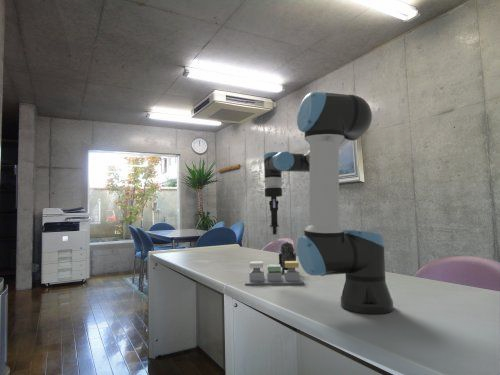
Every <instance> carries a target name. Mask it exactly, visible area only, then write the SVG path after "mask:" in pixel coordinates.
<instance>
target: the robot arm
mask: <svg viewBox="0 0 500 375" xmlns="http://www.w3.org/2000/svg"><path fill="white" fill-rule="evenodd" d="M372 118H373V112H372V109H371V106H370V105H369V103H368V102H367V100H365V99H364V98H362V97H361V96H358V95H355V94H344V93H335V92H325V91H321V92H320V91H318V92H317V91H312V92H309V93H307V94H306V95H305V97H304V98H303V99H302V100H301V104H300V106H299V108H298V112H297V117H296V119H297V120H296V123H297V124H296V125H297V128H298V130H299V131H300V132H301V133H304V140H305V141H306V142H307V143H308V145H309V150H308V151H307V152H306V153H296V152H295V153H291V152H289V151H287V150H284V151H283V150H282V151H279V152H278V151H269V152H266V153H264V154H263V164H264V165H263V166H264V167H263V168H264V170H263V171H264V180H263V183H264V187H265V189H264V196H265V197H266V198H270V200H268V201H269V202H268V204H269V211H270V213H271V214H270V221H271V223H270V225H269V227H270V230H271V233H270V234H271V243H278V242H279V238H278V237H279V236H278V234H279V233H278V232H279V231H278V228H279V227H280V226H279V224H278V210H279V200H277V198H278V197H280V198H281V197H282V196H283V188H282V187H283V182H282V181H283V178H282V176H283V175H282V173H283V172H295V173H296V172H299V173H300V172H301V173H302V172H304V173H309V208H308V209H309V216H308V218H309V222H308V224H307V226H305V227H304V229H303V230H304V231H303V233H304V234H303V235H301V236H299V237H298V239H297V242H296V253H297V254H296V255H297V257H298V262H299V263H300V266H301V268H302V269H303V271H304V272H305V273H306V274H308V275H309V276H320V277H325V276H331V275H332V276H333V275H343V274H345V282H344V284H343V289H342V293H341V295H340V306H341V308H342V309H345V310H346V311H350V312H353V313H359V314H367V315H370V314H371V315H380V314H381V315H382V314H387V313H391V312H392V311H394V301H393V298H392V296H391V293H390V292H391V291H390V289H389V287H388V285H387V282H386V265H385V264H386V263H385V260H386V259H385V249H386V248H385V244H384V238H383V235H382V234H381V233H379V232H374V231H364V230H354V229H353V230H351V229H343V227H342V226H341V225H340V150H341V149H343V147H345V146H346V145H347V144H348V143H350V142H353V141H356V140H358V139H359V138H361V137H362V136H363V135H365V133H367V131H368V129H369V128H370V126H371V125H372V124H371V123H372Z"/></svg>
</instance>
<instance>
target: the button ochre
mask: <svg viewBox="0 0 500 375" xmlns="http://www.w3.org/2000/svg"><path fill="white" fill-rule="evenodd" d="M285 268H288V272H295V270H296V269H298V268H299V260H296V261H285Z"/></svg>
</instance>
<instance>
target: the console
mask: <svg viewBox="0 0 500 375" xmlns="http://www.w3.org/2000/svg"><path fill="white" fill-rule="evenodd" d="M281 271H282V270H281ZM281 271H278V272H271V271H268V269H267V271H266V275H265V271H264V269H263V270H261V269H260V273H253V270H250V271H249V273H248V275H247V277H246V280H245V283H244V285H245V286H305V284H306V283H305V280H304V279H303V277H302V275H301V274H300V270H298V269H295V272H288V270H284V274H282V273H281Z"/></svg>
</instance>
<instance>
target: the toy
mask: <svg viewBox="0 0 500 375" xmlns="http://www.w3.org/2000/svg"><path fill="white" fill-rule="evenodd" d="M279 251H280V253H279V254H278V265H279V264H280V266H281V274H282V275H284V270H288V268H285V261H297V254H296V253H295V249H294V244H292V243H290V242H288V241H286V242H284V243H281V245H280V249H279Z"/></svg>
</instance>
